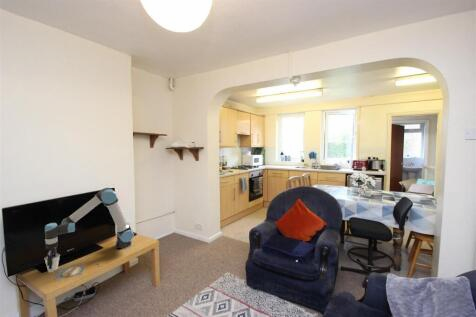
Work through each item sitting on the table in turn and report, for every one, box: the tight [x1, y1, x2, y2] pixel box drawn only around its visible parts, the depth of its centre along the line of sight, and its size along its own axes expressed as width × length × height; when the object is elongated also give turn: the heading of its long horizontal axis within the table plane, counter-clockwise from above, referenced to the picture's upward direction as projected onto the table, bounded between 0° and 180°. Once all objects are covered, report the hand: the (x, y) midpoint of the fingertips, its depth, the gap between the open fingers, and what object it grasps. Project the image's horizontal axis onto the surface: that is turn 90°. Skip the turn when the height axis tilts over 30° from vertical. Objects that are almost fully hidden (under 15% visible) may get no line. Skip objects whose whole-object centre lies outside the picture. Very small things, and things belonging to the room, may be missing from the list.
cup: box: [44, 253, 61, 272], centre depth 184 cm, size 10×10×11 cm
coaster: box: [61, 266, 81, 278], centre depth 180 cm, size 13×13×1 cm
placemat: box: [53, 264, 86, 281], centre depth 181 cm, size 18×16×1 cm
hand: (52, 269), depth 184 cm, fingers closed on cup, 8 cm apart
